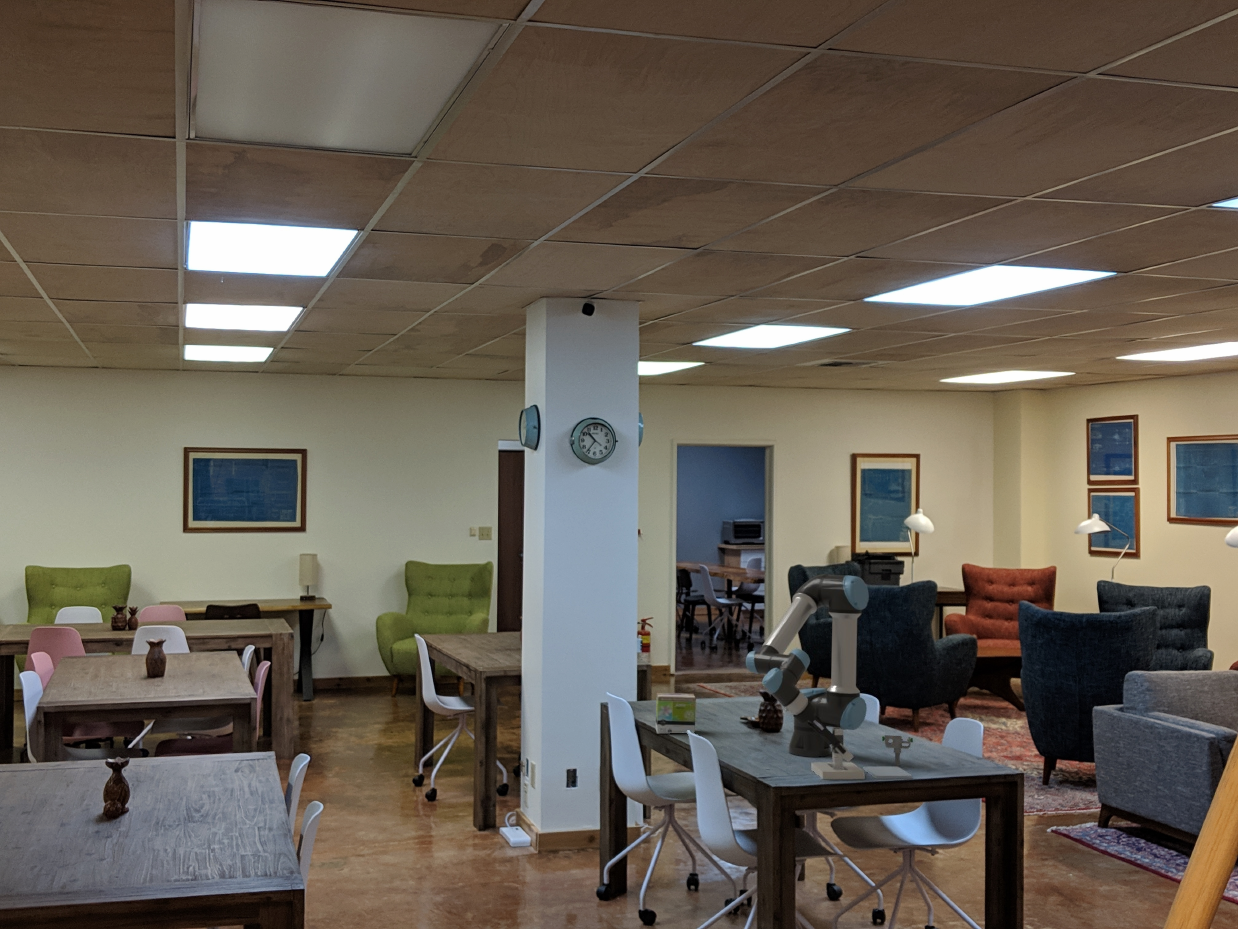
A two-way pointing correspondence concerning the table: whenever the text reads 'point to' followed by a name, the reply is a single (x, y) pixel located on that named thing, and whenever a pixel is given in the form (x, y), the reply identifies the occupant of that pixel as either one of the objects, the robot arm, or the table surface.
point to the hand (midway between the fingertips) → (848, 758)
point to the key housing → (838, 771)
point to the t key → (836, 757)
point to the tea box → (675, 712)
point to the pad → (887, 773)
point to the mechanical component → (897, 745)
